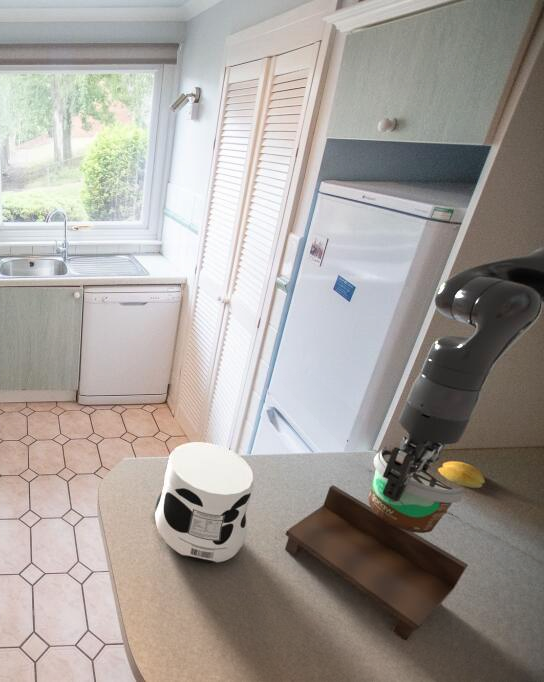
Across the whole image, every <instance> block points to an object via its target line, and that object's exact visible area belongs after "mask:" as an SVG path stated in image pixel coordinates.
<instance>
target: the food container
mask: <svg viewBox="0 0 544 682" xmlns="http://www.w3.org/2000/svg"><path fill="white" fill-rule="evenodd" d="M388 449H389V445H386V446H384V447H383V448H381V449H380V450H379V451H378V452H377V453H376V455H375V456H374V458H373V466H374V467H375V472H374V476H373V480H372V484H371V488H370V492H369V494H368V495H369V496H368V506H369V507H371V508H372V510H373V511H374V512H375V513H376V514H377V515H378V516H379V517H380V518H382V519H383V520H385V521H386V522H388V523H390V524H391V525H393V526H396V527H398V528H400V529H403V530H406V531H410V532H414V533H415V534H427V533H431V532H432V531H433V530H434V529H435V527H436V526H437V525H438V523H439V522H440V520H441V519H442V518H443V516H444V515H445V514H446V512H447V511H448V510H449V508H450V507H451V506H452V504H453V503H459V502H462V498H463V492H462V490H463V488H462V487H460V488H456V489H454V488H452V487H450V486H448V485H446V484H444V483H443V482H441V481H439V480H438V479H437V478H435V477H434V476H433V475H432V474H430V473H429V472H428V471H427V472H426V471H424V470H423V469H421V470H420V472H419V473H414V474H413V475H412V477H411V478H410V480H409V483H408V484H407V485H406V487H405V489H404V492H403V494H402V496H401V498H400V500H398V501H393V500H391V499H390V498H388V497H386V496H384V494H383V490H384V488H385V486H386V483H387V481H388V479H386V478H384V477H383V475H384V472H385V469H386V467H387V464H388V461H389V459H390V456H391V453H392V451H389V450H388ZM411 466H412V467H415V465H413V464H412V465H411ZM396 472H397V471H396ZM397 473H399V472H397ZM399 474H400V473H399Z"/></svg>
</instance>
